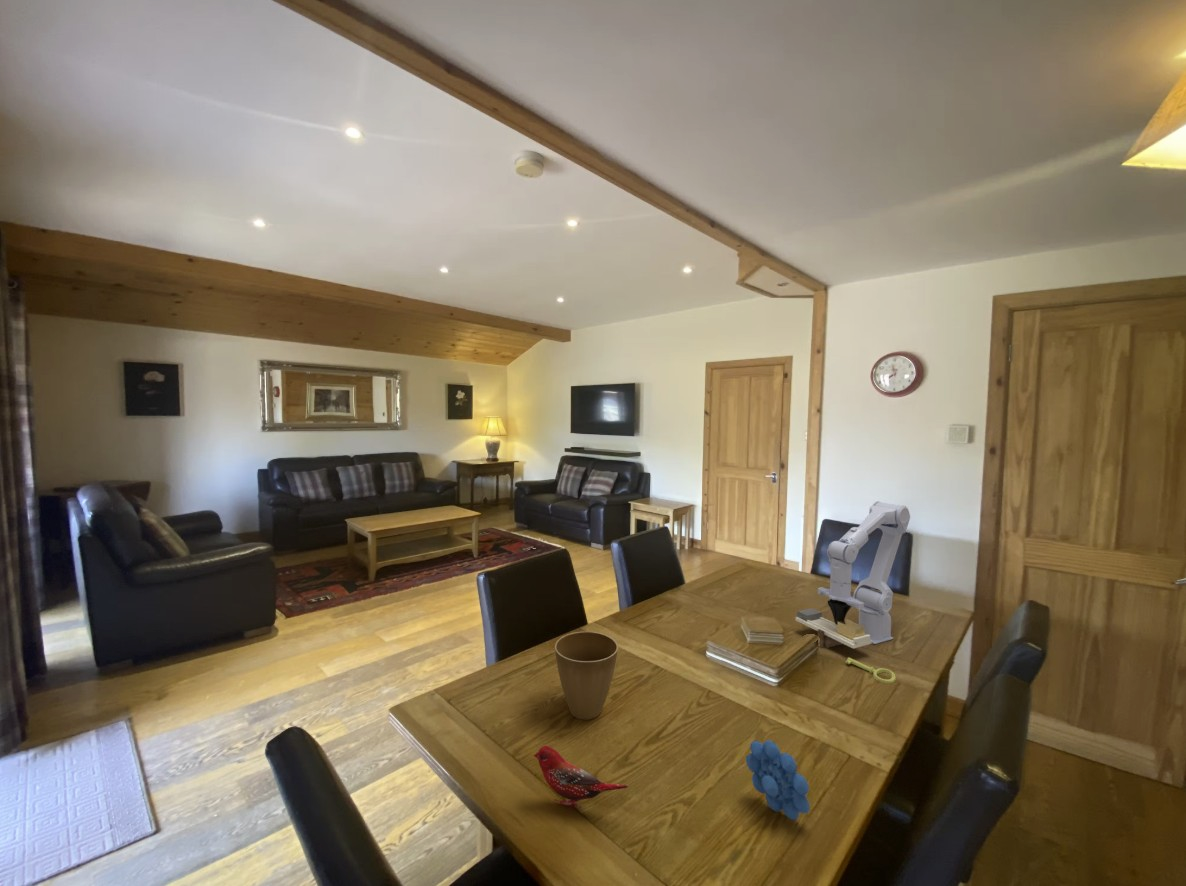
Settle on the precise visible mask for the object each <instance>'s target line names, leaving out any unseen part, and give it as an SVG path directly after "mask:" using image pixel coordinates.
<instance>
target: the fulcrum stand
mask: <svg viewBox="0 0 1186 886" xmlns="http://www.w3.org/2000/svg"><path fill="white" fill-rule="evenodd" d="M817 636H819V638H820V647H821V649H823V648H826V647H827V649H829V648H832V647H836V645H837V646H840V645H844V644H843V643H841V642H839V641H837V640H835V639H833V638H831V637H829V636H827V635H824V631H823V630H821V629H818V631H817ZM824 646H825V647H824ZM820 647H819V648H820ZM822 647H823V648H822Z"/></svg>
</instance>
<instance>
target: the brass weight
mask: <svg viewBox="0 0 1186 886" xmlns="http://www.w3.org/2000/svg"><path fill="white" fill-rule="evenodd" d="M837 633H838V634H840V635H842V636H844V637H846V638H848V639H850V640H853V638H856V637H860V636H863V635H865V627H864V626H862V625H860V624H859V623H857V622H855V621H853V620H850V619H848V618H845V619H844V620H841V621H838V624H837Z"/></svg>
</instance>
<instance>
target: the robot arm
mask: <svg viewBox="0 0 1186 886" xmlns="http://www.w3.org/2000/svg"><path fill="white" fill-rule="evenodd" d="M910 519H911V514H910V511H909V508H908V507H907V506H906V505H902V504H901V505H900V504H894V503H887V502H882V501H879V500H877V501H875V502H873V504H872V505H871V506H870V507H869V513H868V515H867V516H866V517H865V518H864V519H863V520H862V522H861V523H860V525H858V526H853V527H851V528H850V529H849V530H848V531H847V532H846V533H845V534H843V536H842V537H841V538H840V539H839V540H834V541H831V542H830V543H829V545H828V546H827V549H826V555H827V557H828V562H829V564H830V576H829V577H830V578H829V579H830V580H829V588H825V587H818V588H817V594H818V595H820V596H821V595H822V596H824V597H827V598H828V599H829V600H827V604H828V606H829V608H830V611H831V613H832V617H833V620H834V621H833V622H834V623H835V624H836V625H837V624H838V621H841V620H845V619H846V617H847V614H848V612H849V610H850V609H851V608H852V607H853V608H855V609H856V610H858V624H860V625H862V626H864V627H865V635H867V634H868V635H870V640H872V644H873V645H878V644H881V643H884V642H888V641H891V640H893V639H894V637H893V636H891V635H892V634H891V632H892V631H891V630H892V617H891V615H890V611H891V610H892V606H893V596H894V592H893V591H892V589H891V588H890V587H889V585H888V584H887V583H888V581H889V578H890V574H891V571H892V567H893V564H894V561H895V559H896V554H897V552H898V548H899V545H900V543H901V540H902V536H903V535H904V534H906V532H907V530H908V525H909V522H910ZM877 528H878V529H879V530H881V531H882V535H881V538H880V541H879V544H878V548H877V551H876V553H875V557H874V560H873V564H872V566H871V569H870V572H869V575H868V577H867V578H865V579H862V580H860V581H859V582H858V585H857V587H856V588H855V589H854V591H853V595H851V594H852V593H851V592H852V571H853V568H852V567H853V563H854V562H856V559H857V556H858V554H859V552H860V549H861V548H862V547H863V546H864V545H865V544H866V543H867V542H869V535H871V534H872V532H873V531H875V530H876V529H877Z"/></svg>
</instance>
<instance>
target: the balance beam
mask: <svg viewBox="0 0 1186 886" xmlns="http://www.w3.org/2000/svg"><path fill="white" fill-rule="evenodd" d="M822 615H823V614H822V611H819V610H816V609H815V608H812V607H810V608H805V609H801V610H797V614H796V616H795V621H796V622H798V623H800V624H801V625H802V624H803V625H804V626H806V627H808V628H811V629H813V630H815V631H817V632H818V629H821V630H823V631H824V635H827V636H829V637H831V638H833V639H835V640H837V641H839V642H841V643H843V644H842V645H845V646H847V647H849V648H851V649H857V648H860V647H864V646H867V645H871V644H873V643H872V640H870V635H868V634H867V635H863V636H860V637H856V638H853V640H850V639H848V638H846V637H844V636H842V635H840V634H838V633H837V625H836V624H835V622H834V621H831V620H829V619H827V618H825V617H824V616H823V617H822Z"/></svg>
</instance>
